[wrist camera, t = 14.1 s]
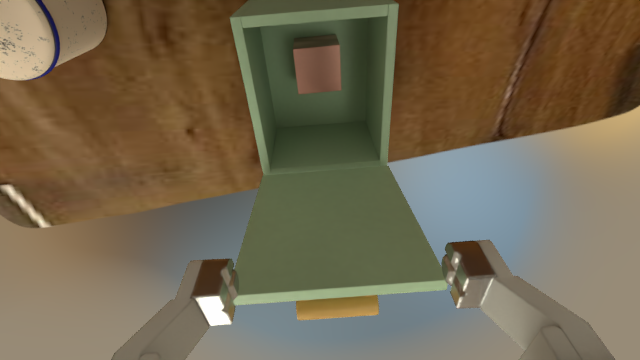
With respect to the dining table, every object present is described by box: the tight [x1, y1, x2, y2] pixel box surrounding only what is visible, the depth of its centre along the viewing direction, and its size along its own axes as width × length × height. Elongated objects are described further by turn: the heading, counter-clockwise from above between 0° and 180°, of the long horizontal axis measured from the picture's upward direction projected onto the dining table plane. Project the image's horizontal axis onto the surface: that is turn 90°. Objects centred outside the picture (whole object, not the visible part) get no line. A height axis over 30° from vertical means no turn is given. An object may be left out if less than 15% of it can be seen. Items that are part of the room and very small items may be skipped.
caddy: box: [230, 0, 399, 175], centre depth 32 cm, size 15×13×10 cm
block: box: [293, 34, 342, 94], centre depth 32 cm, size 4×4×4 cm
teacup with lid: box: [0, 0, 107, 80], centre depth 26 cm, size 12×9×12 cm
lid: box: [233, 166, 448, 320], centre depth 26 cm, size 15×13×5 cm
